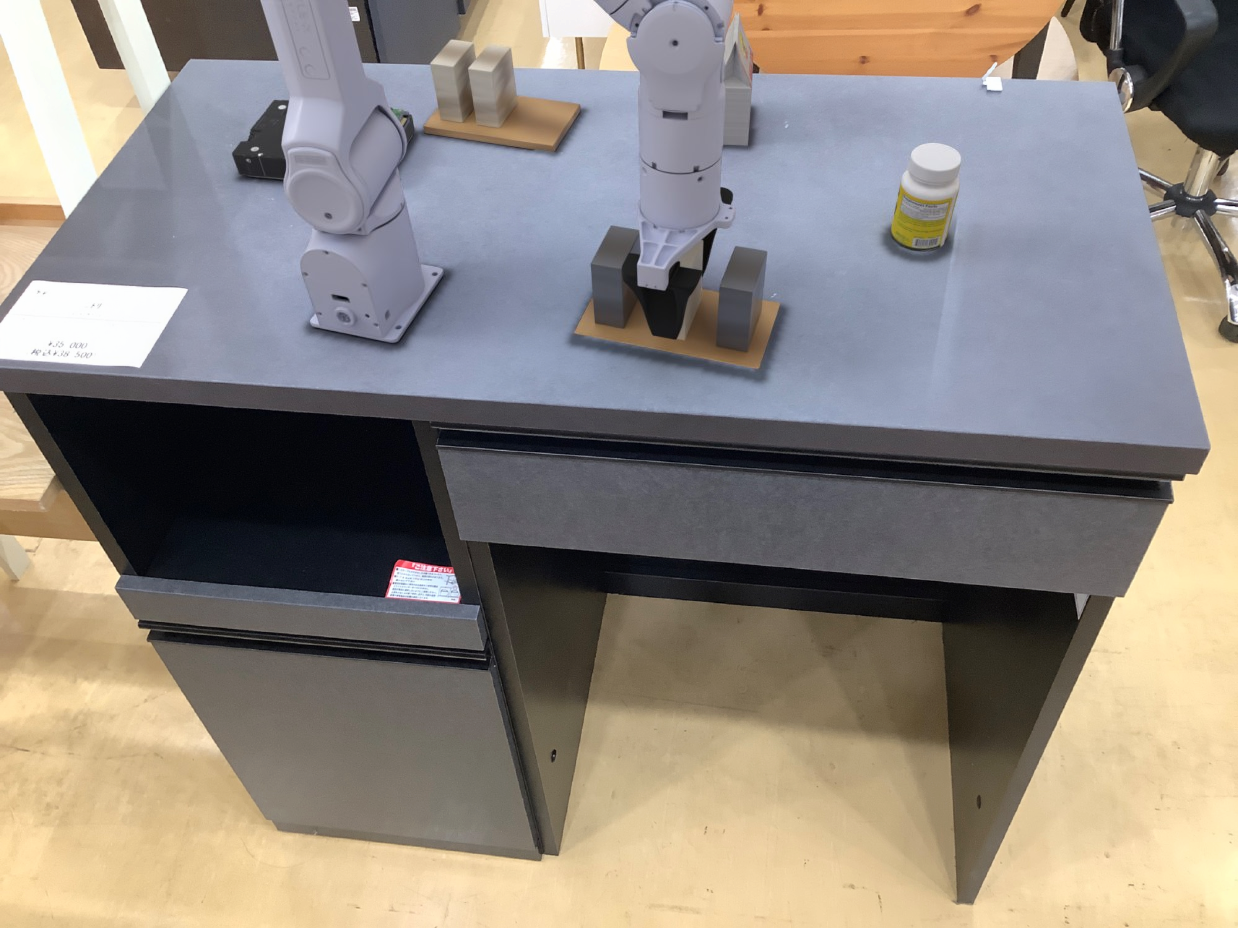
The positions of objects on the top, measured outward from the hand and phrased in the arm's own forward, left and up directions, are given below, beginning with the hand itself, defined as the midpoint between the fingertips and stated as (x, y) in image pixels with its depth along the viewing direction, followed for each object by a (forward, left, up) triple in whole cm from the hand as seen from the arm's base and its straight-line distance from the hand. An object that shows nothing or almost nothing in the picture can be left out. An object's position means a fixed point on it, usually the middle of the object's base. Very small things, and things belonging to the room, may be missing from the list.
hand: (678, 304), depth 78 cm
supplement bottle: (+16, -17, -2) cm, 23 cm away
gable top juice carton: (+30, +3, -2) cm, 30 cm away
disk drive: (+15, +40, -2) cm, 43 cm away
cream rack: (+25, +25, -2) cm, 35 cm away
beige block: (0, 0, -1) cm, 1 cm away
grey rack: (0, +1, -2) cm, 2 cm away
